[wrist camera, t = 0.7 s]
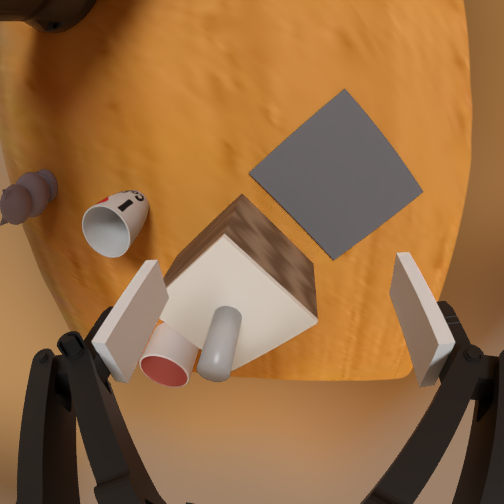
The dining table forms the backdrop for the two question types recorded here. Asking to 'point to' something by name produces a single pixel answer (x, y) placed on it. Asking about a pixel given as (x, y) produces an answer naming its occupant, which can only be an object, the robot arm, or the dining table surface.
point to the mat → (338, 176)
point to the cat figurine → (28, 196)
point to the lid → (231, 309)
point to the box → (255, 250)
